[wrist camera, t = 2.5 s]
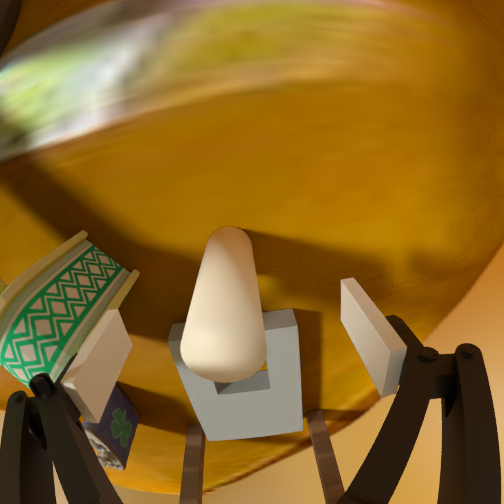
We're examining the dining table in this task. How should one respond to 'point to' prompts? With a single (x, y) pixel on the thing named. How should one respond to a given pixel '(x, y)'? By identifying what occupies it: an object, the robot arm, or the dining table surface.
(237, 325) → the peg
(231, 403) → the socket block
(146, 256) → the dining table surface
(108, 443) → the flask
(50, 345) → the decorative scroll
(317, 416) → the curved red bench
